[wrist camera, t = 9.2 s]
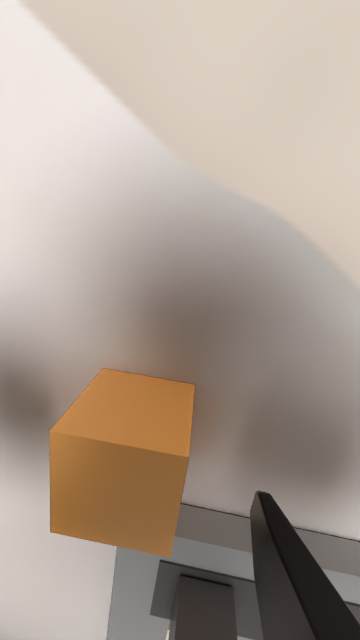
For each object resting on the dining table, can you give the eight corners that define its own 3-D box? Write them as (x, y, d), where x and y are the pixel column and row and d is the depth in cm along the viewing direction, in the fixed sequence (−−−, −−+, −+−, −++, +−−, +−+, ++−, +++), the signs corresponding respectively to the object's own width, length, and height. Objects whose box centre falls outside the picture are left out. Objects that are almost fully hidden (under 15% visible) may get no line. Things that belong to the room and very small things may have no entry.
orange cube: (98, 443, 12) (50, 532, 8) (103, 367, 11) (49, 430, 7) (181, 459, 12) (170, 557, 8) (195, 383, 11) (189, 457, 7)
